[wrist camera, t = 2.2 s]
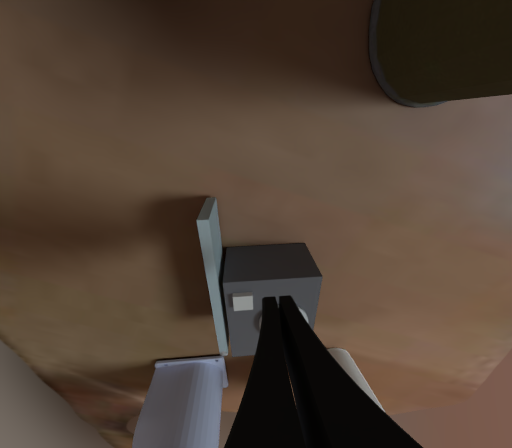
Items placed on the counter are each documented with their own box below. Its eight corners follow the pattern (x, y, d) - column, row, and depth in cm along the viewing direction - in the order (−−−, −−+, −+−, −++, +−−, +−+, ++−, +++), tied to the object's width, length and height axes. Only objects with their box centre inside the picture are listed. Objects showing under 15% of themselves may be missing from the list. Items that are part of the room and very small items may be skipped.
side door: (223, 318, 24) (220, 356, 20) (206, 197, 17) (196, 220, 13) (230, 317, 24) (228, 355, 20) (215, 197, 17) (208, 219, 13)
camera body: (233, 314, 25) (230, 364, 20) (225, 247, 20) (220, 289, 15) (297, 309, 25) (311, 357, 20) (304, 243, 20) (325, 282, 15)
